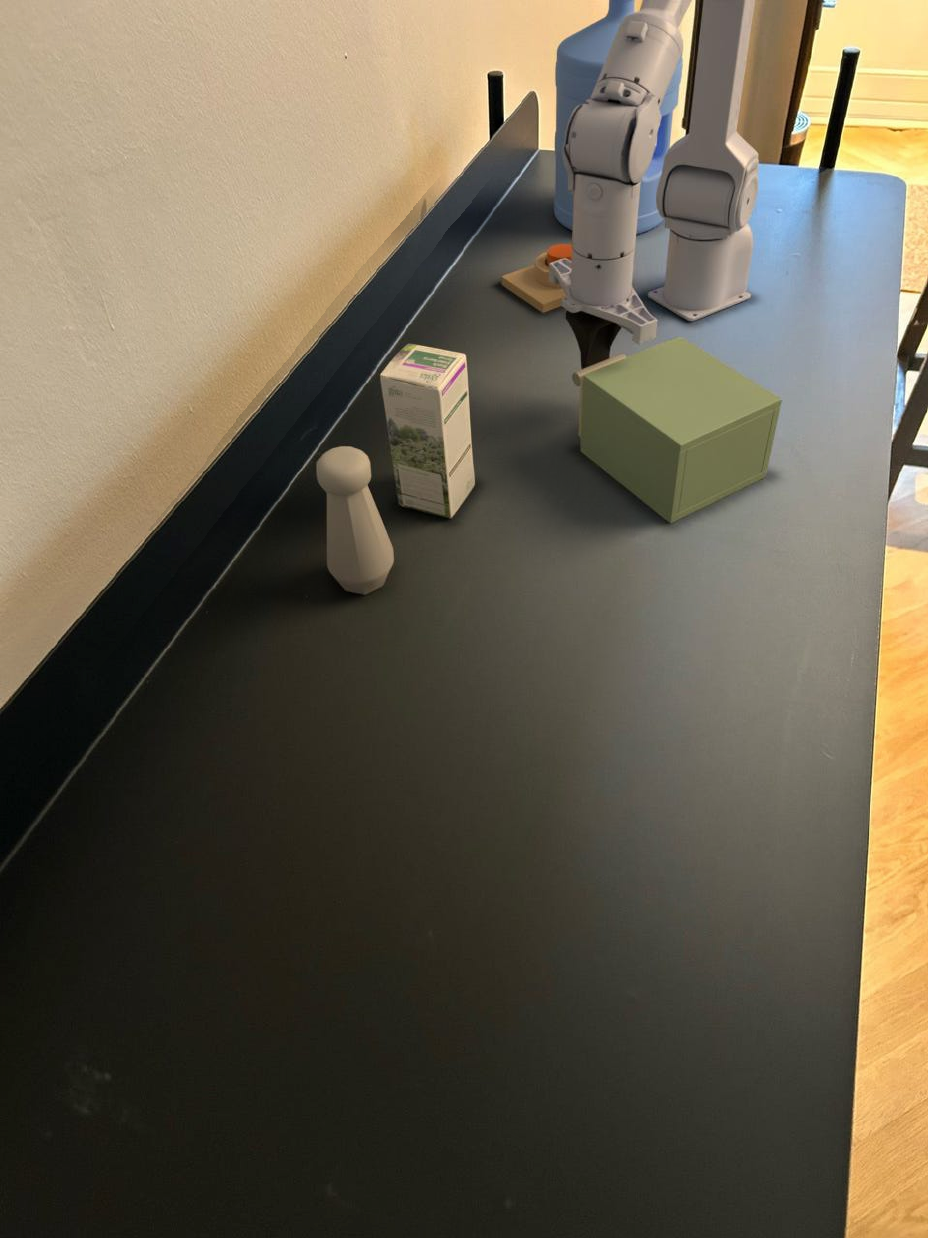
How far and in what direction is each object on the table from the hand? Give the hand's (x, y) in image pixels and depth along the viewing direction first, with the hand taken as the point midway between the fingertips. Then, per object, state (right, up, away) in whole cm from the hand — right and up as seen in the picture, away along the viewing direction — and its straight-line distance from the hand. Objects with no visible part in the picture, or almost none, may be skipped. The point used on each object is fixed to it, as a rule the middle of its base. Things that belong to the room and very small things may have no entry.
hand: (595, 374), depth 97 cm
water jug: (+7, +31, +35) cm, 47 cm away
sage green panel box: (+7, -10, -5) cm, 13 cm away
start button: (-1, +19, +20) cm, 27 cm away
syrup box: (-16, -13, -6) cm, 22 cm away
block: (-1, +17, +22) cm, 27 cm away
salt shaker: (-22, -21, -13) cm, 34 cm away
